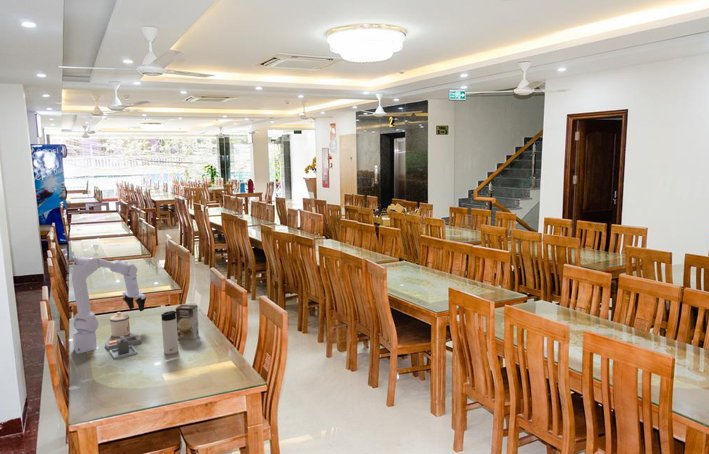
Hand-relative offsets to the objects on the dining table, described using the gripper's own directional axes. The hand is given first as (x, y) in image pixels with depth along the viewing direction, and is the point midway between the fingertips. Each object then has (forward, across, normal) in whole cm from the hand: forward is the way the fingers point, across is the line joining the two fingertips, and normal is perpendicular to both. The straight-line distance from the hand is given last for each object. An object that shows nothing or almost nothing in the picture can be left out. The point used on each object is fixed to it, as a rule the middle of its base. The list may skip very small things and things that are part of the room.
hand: (137, 309), depth 266 cm
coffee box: (+10, -34, 0) cm, 36 cm away
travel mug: (+8, -42, +19) cm, 47 cm away
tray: (+6, -23, +29) cm, 37 cm away
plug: (+5, -23, +29) cm, 37 cm away
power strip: (+7, -14, +21) cm, 26 cm away
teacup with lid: (+9, +3, +10) cm, 14 cm away
